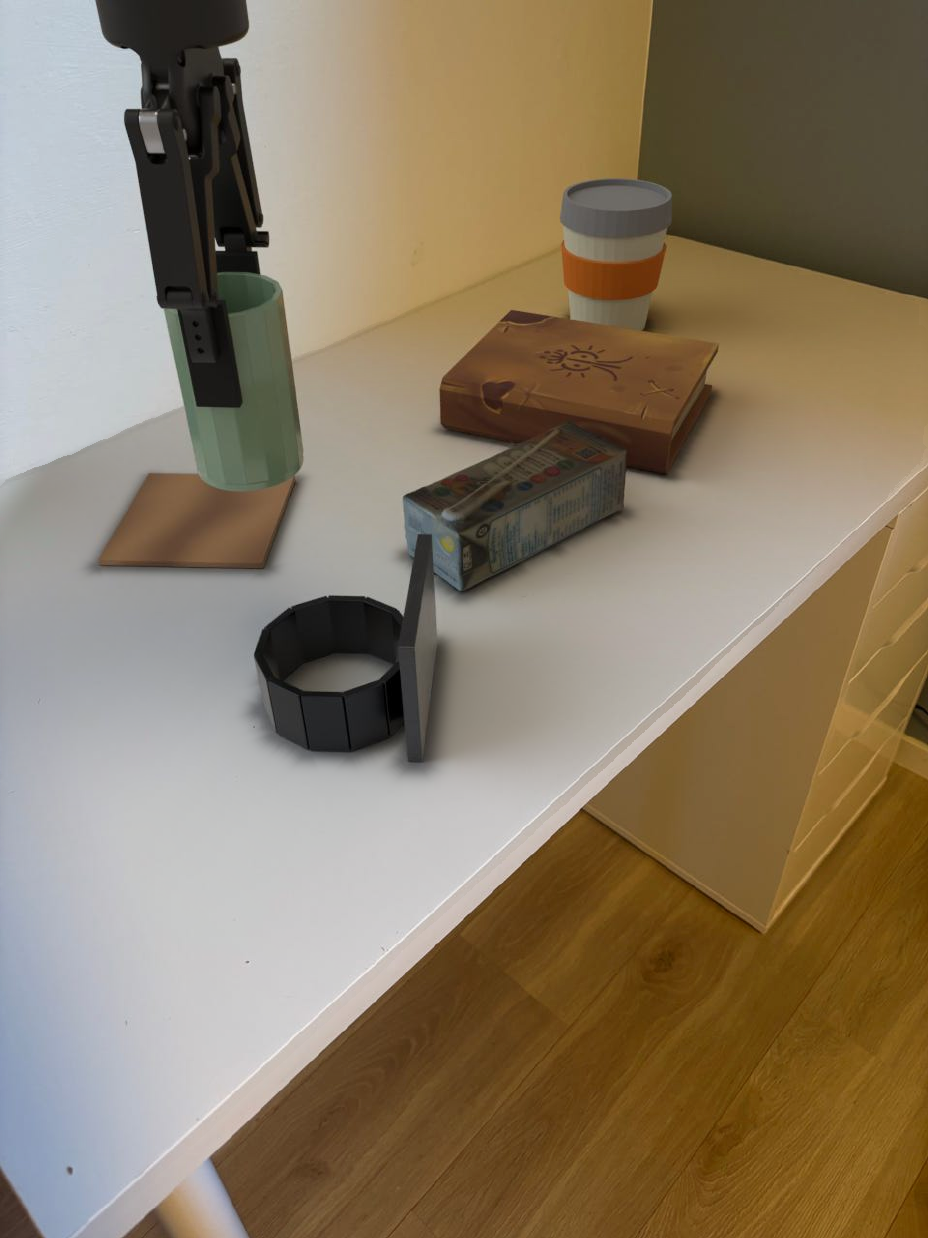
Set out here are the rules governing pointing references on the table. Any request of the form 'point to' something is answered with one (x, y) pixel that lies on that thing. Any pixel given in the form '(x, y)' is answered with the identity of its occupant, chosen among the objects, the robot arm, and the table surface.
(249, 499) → the cork tile
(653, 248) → the reusable coffee cup
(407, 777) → the table surface
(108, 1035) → the table surface
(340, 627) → the ring cup holder
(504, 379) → the diary
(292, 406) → the cup
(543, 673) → the table surface
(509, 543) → the beverage carton
